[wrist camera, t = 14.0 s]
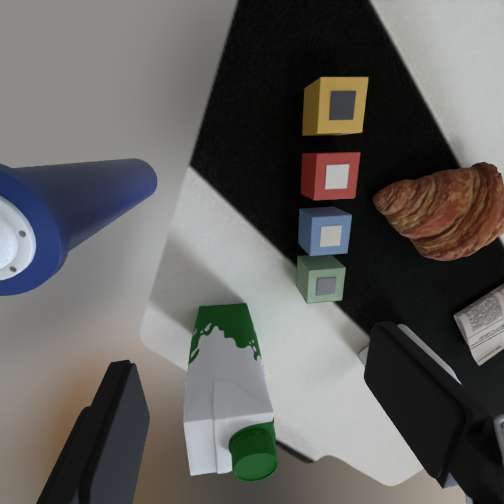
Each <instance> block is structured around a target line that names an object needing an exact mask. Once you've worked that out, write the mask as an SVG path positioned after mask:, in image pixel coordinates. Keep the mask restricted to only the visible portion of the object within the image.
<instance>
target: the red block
mask: <svg viewBox="0 0 504 504" xmlns="http://www.w3.org/2000/svg"><path fill="white" fill-rule="evenodd" d="M359 159H360V152H331V153H303V154H302V173H301V194H302V195H304V196H306V197H308V198H310V199H313V200H329V199H347V198H355V192H356V184H357V176H358V167H359Z"/></svg>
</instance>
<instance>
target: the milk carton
mask: <svg viewBox="0 0 504 504" xmlns="http://www.w3.org/2000/svg"><path fill="white" fill-rule="evenodd" d="M184 430H185V438H186V445H187V452H188V460H189V467H190V474H191V476H192V475H198V474H204V473H212V472H217V473H218V474H220V473H226V472H229V471H233V474H234V476H235V477H236V478H237V479H238V480H241V481H244V482H257V481H261V480H264V479H266V478H268V477H270V476H271V475H272V474H273V473H274V472H275V471H276V470H277V468H278V463H279V462H278V457H277V452H276V446H275V430H274V418H273V408H272V404H271V400H270V395H269V390H268V386H267V381H266V376H265V372H264V367H263V363H262V358H261V354H260V350H259V345H258V341H257V336H256V333H255V329H254V326H253V323H252V320H251V317H250V313H249V310H248V307H247V304H246V303H245V304H231V305H216V306H202V307H199V311H198V316H197V320H196V324H195V328H194V332H193V336H192V341H191V348H190V356H189V364H188V371H187V379H186V387H185V395H184Z"/></svg>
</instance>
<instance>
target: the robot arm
mask: <svg viewBox="0 0 504 504" xmlns="http://www.w3.org/2000/svg"><path fill="white" fill-rule="evenodd" d="M35 250H36V239H35V235H34V232H33V229H32V227H31V225H30V223H29V221H28V220H27V218H26V217H25V216H24V215H23V213H22V212H21V211H20V210H19V209H18V208H17V207H16V206H15V205H14V204H12V203H11V202H10V201H8V200H7V199H5V198H4V197H2V196H0V280H4V279H7V278H10V277H13V276H15V275H16V274H18V273H20V272H21V271H23V270H24V269H25V268H27V267H28V265H29V264H30V263H31V262H32V260H33V257H34V255H35ZM364 379H365V382H366V384H367V386H368V387H369V389H370V390H371V392H372V393H373V395H374V396H375V398H376V399H377V400H378V402H379V403H380V405H381V406H382V408H383V409H384V411H385V412H386V414H387V415H388V416H389V418H390V419H391V421H392V422H393V424H394V425H395V427H396V428H397V430H398V431H399V432H400V434H401V435H402V437H403V438H404V440H405V441H406V443H407V444H408V445H409V447H410V448H411V450H412V451H413V453H414V454H415V456H416V457H417V459H418V460H419V461H420V463H421V464H422V466H423V467H424V469H425V470H426V471H427V473H428V474H429V475H430V476H431V477H433V478H435V479H436V480H437V481H438V483H439V484H440V486H441V487H442V489H443V488H447V487H451V486H455V485H457V484H458V485H459V486H460V487H461V488H462V490H463V491H464V493H465V496H466V503H467V504H504V415H500V416H497V417H496V418H495V419H494V418H493V417H492V416H491V415H490V414H489V413H490V410H489V409H487V408H486V407H485V406H484V405H483V404H482V403H481V402H480V401H479V400H478V399H477V398H475V397H474V396H473V395H472V394H471V393H470V392H469V391H468V390H467V389H466V388H464V387H463V386H462V385H461V384H460V383H459V382H458V381H457V380H456V379H455V378H454V377H452V376H451V375H450V374H449V373H448V372H447V371H446V370H445V369H444V368H443V367H441V366H440V365H439V364H438V363H437V362H436V361H435V360H434V359H433V358H432V357H431V356H429V355H428V354H427V353H426V352H425V351H424V350H423V349H422V348H421V347H420V346H418V345H417V344H416V343H415V342H414V341H413V340H412V339H411V338H410V337H409V336H408V335H406V334H405V333H404V332H403V331H402V330H401V329H400V328H399V327H398V326H397V325H395V324H394V323H393V322H391V321H387V322H380V323H376V324H375V326H374V327H373V328H372V330H371V336H370V342H369V348H368V354H367V360H366V366H365V372H364ZM149 420H150V416H149V411H148V407H147V404H146V400H145V397H144V393H143V389H142V386H141V382H140V378H139V374H138V371H137V367H136V365H135V363H132V364H131V362H130V361H129V360H123V361H117V362H111V364H110V365H109V367H108V369H107V371H106V373H105V375H104V378H103V380H102V382H101V384H100V386H99V389H98V391H97V393H96V395H95V397H94V399H93V402H92V404H91V406H89V407H85V408H84V409H83V410H82V411H81V413H80V415H79V416H78V418H77V421H76V423H75V425H74V427H73V429H72V431H71V433H70V435H69V437H68V439H67V441H66V443H65V445H64V448H63V449H62V451H61V454H60V456H59V458H58V460H57V462H56V464H55V466H54V468H53V470H52V472H51V474H50V476H49V478H48V480H47V483H46V485H45V487H44V489H43V491H42V493H41V495H40V497H39V499H38V501H37V503H36V504H132V503H133V498H134V493H135V489H136V484H137V479H138V474H139V470H140V465H141V460H142V455H143V451H144V446H145V441H146V437H147V432H148V427H149Z"/></svg>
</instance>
